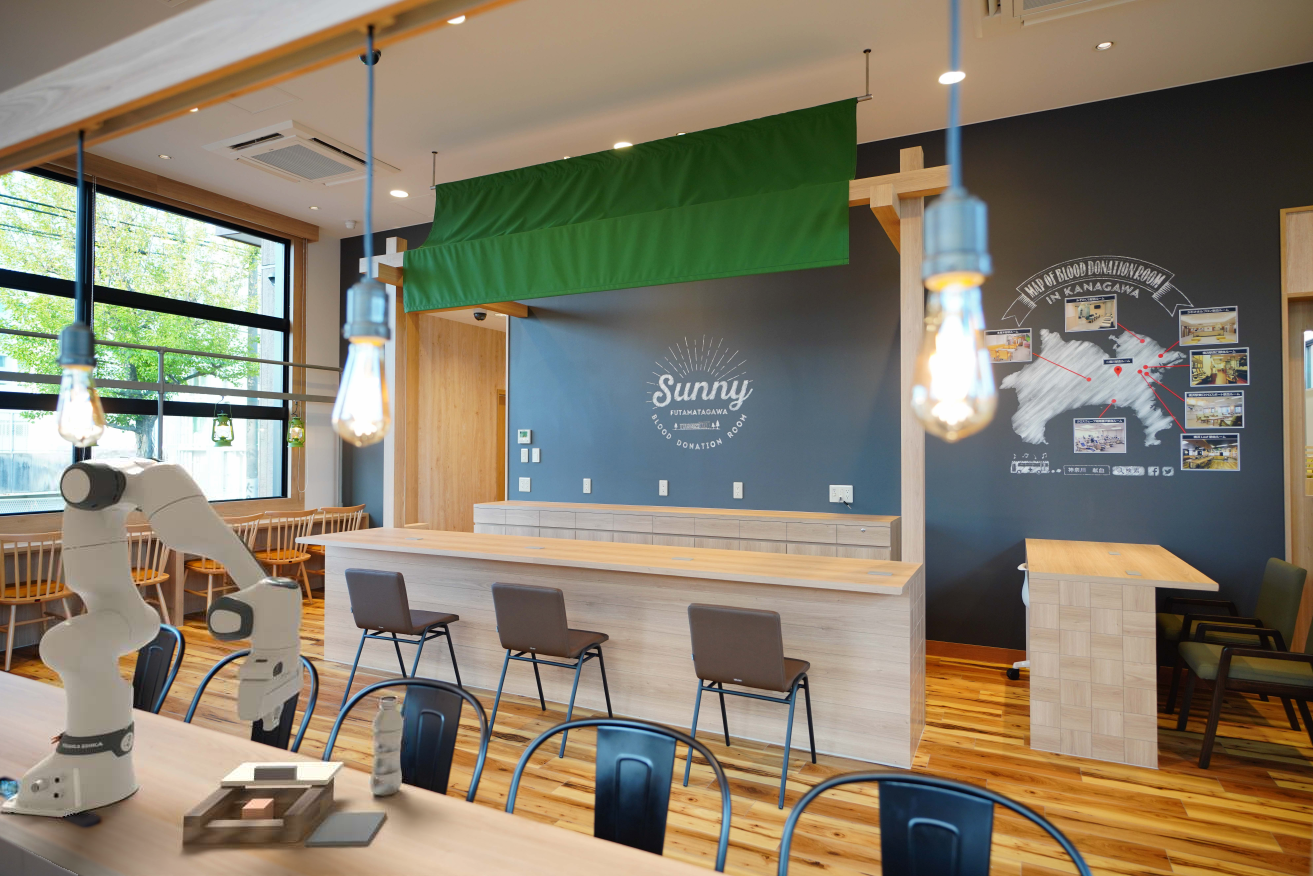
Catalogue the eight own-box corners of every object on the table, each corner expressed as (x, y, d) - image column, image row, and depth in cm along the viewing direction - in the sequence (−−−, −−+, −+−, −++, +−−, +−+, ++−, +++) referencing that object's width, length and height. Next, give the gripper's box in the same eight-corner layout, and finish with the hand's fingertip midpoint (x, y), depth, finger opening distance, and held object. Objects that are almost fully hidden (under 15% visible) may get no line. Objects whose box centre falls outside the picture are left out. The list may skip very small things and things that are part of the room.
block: (241, 832, 135) (242, 808, 135) (252, 822, 139) (253, 798, 139) (262, 832, 135) (263, 808, 135) (273, 821, 139) (273, 798, 139)
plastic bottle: (371, 802, 147) (374, 705, 148) (368, 789, 153) (371, 696, 154) (403, 796, 150) (406, 701, 151) (399, 783, 156) (402, 692, 157)
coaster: (306, 846, 130) (306, 841, 130) (330, 816, 141) (330, 812, 141) (367, 845, 130) (367, 840, 131) (386, 816, 141) (386, 812, 141)
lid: (220, 786, 142) (221, 768, 142) (243, 767, 151) (244, 751, 151) (326, 784, 143) (327, 767, 144) (343, 766, 152) (344, 750, 153)
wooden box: (182, 843, 130) (183, 816, 130) (229, 803, 146) (230, 778, 146) (298, 842, 131) (299, 814, 131) (333, 801, 147) (334, 777, 147)
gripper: (283, 645, 153) (279, 710, 152) (232, 672, 133) (227, 747, 132) (313, 646, 153) (309, 710, 153) (266, 673, 133) (262, 747, 132)
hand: (271, 728), depth 142 cm, fingers closed
